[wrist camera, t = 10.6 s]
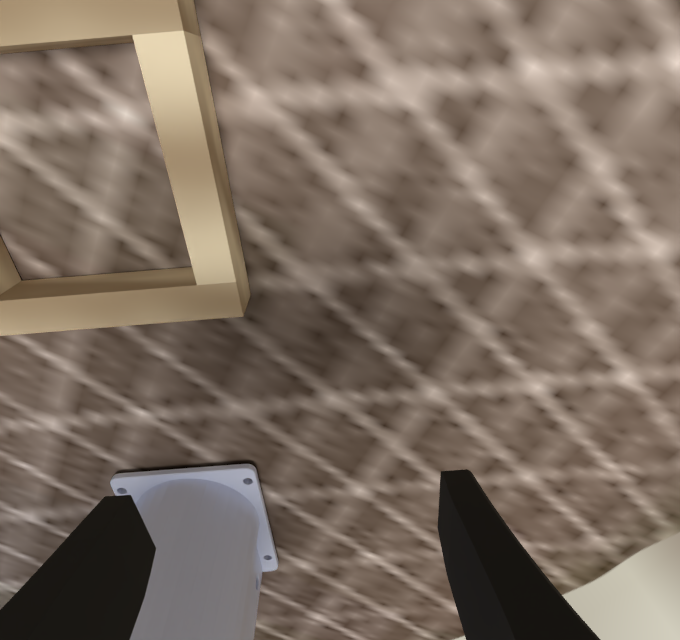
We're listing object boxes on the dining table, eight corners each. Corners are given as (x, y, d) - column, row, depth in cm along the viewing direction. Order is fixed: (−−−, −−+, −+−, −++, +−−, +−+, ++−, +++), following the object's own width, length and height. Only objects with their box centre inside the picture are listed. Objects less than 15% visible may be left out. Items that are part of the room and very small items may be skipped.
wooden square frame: (250, 294, 19) (243, 316, 17) (2, 314, 19) (-31, 337, 17) (189, -20, 14) (169, -36, 12) (-156, 9, 14) (-227, -1, 12)
